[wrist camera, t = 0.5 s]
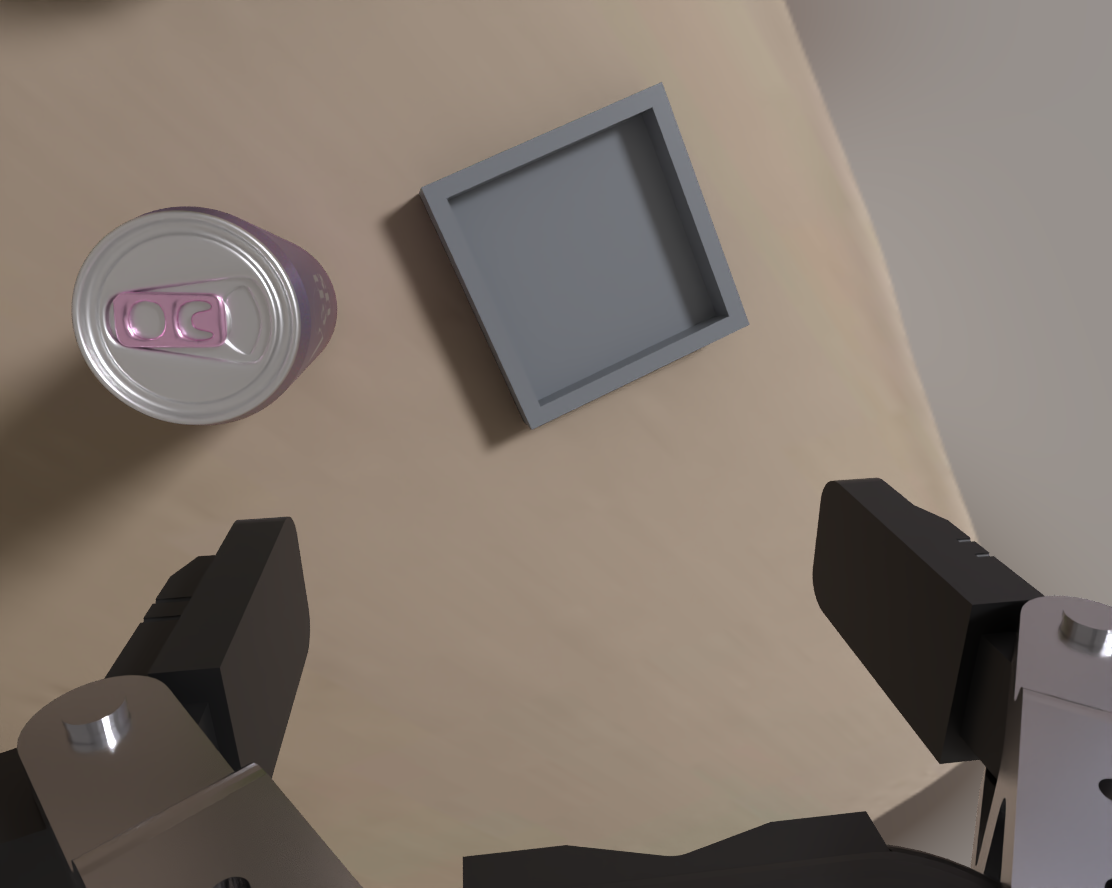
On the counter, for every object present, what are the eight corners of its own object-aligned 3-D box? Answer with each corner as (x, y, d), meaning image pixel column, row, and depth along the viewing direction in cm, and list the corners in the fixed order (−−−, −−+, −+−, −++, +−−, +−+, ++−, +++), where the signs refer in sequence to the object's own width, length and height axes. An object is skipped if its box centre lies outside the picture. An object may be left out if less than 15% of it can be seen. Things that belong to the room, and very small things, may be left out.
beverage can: (191, 234, 34) (49, 197, 19) (335, 239, 35) (301, 206, 21) (201, 373, 35) (74, 435, 21) (340, 372, 36) (312, 430, 22)
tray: (419, 193, 35) (421, 187, 33) (646, 93, 37) (661, 81, 35) (524, 422, 38) (532, 429, 36) (730, 322, 40) (749, 324, 38)
